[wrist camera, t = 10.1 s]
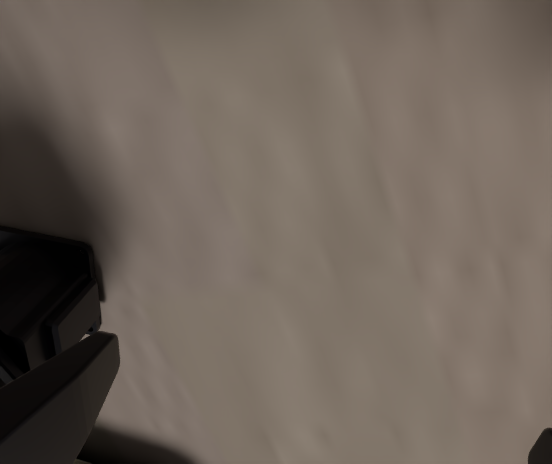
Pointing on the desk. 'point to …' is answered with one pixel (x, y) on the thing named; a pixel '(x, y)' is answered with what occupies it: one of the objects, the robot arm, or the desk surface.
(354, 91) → the desk surface
